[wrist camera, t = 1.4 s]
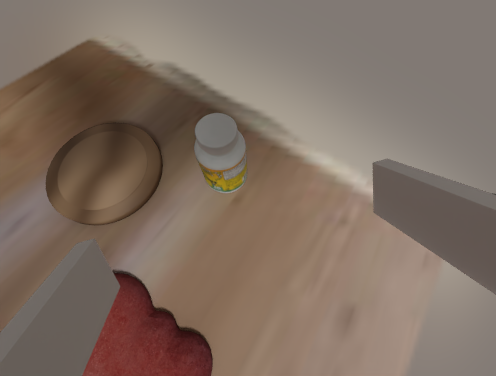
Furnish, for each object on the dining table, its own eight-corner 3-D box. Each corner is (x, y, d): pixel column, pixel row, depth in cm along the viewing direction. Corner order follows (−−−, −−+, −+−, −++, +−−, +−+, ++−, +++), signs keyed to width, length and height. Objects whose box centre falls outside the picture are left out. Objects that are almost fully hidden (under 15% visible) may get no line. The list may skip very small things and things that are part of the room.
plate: (38, 226, 29) (28, 223, 28) (69, 129, 35) (63, 123, 33) (154, 224, 29) (150, 221, 28) (168, 127, 35) (165, 121, 33)
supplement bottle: (255, 180, 31) (256, 137, 22) (218, 202, 30) (204, 165, 21) (233, 150, 33) (226, 98, 24) (198, 169, 32) (177, 122, 23)
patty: (230, 362, 24) (228, 368, 22) (123, 524, 20) (110, 548, 18) (113, 252, 28) (103, 250, 27) (5, 367, 24) (-15, 373, 22)
